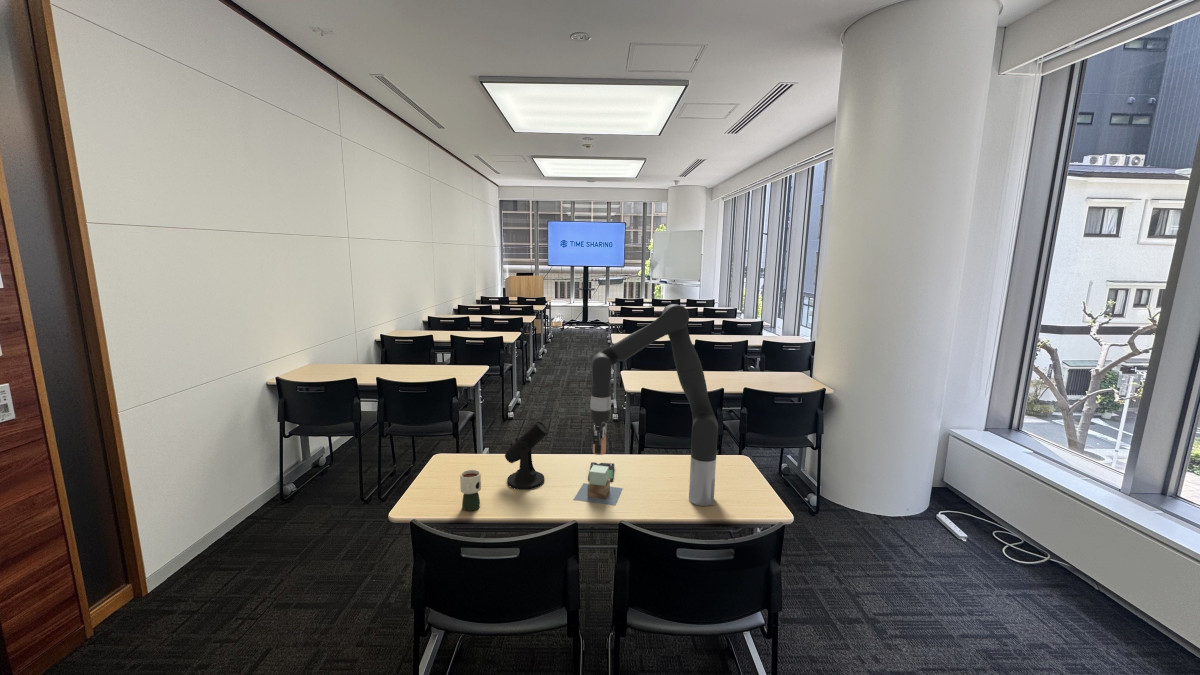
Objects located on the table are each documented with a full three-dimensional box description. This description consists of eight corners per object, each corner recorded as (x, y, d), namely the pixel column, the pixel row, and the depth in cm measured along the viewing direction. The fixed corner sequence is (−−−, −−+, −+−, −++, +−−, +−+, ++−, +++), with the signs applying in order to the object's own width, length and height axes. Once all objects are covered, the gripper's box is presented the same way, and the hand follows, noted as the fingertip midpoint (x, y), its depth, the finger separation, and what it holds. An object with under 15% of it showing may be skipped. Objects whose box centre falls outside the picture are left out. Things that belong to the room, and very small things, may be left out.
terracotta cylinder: (606, 450, 184) (607, 435, 183) (604, 455, 179) (604, 439, 178) (594, 449, 185) (595, 434, 184) (591, 453, 180) (591, 438, 179)
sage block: (608, 479, 186) (608, 466, 185) (604, 486, 180) (605, 473, 179) (593, 477, 187) (593, 464, 187) (589, 483, 182) (589, 471, 181)
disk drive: (590, 468, 210) (587, 483, 196) (590, 462, 210) (587, 476, 195) (614, 469, 210) (613, 484, 195) (614, 463, 210) (613, 477, 195)
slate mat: (622, 490, 190) (622, 488, 189) (615, 507, 176) (615, 505, 176) (583, 485, 193) (583, 483, 193) (573, 501, 180) (573, 499, 180)
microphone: (545, 490, 188) (545, 428, 184) (501, 489, 189) (500, 427, 185) (550, 473, 203) (550, 416, 199) (509, 472, 203) (508, 415, 199)
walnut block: (609, 490, 187) (610, 478, 186) (605, 499, 180) (605, 486, 180) (592, 488, 189) (592, 476, 188) (587, 496, 182) (587, 484, 181)
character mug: (478, 515, 169) (477, 480, 167) (457, 515, 169) (456, 480, 167) (483, 500, 180) (483, 467, 178) (464, 500, 179) (463, 467, 177)
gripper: (606, 414, 171) (604, 459, 174) (614, 402, 185) (613, 445, 188) (585, 412, 173) (584, 457, 176) (595, 400, 187) (594, 443, 190)
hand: (599, 450), depth 182 cm, fingers closed on terracotta cylinder, 4 cm apart
